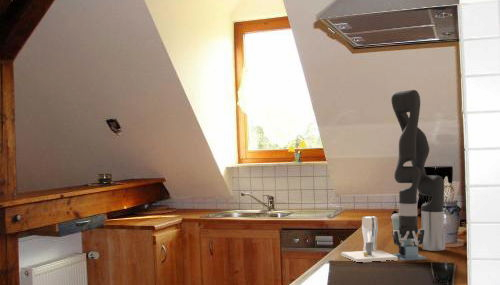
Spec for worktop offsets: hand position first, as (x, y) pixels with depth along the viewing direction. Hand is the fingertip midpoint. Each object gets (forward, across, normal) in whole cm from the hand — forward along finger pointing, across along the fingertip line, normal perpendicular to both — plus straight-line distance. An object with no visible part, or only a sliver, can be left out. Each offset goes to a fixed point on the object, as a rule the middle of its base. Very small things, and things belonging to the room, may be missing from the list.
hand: (408, 254), depth 237 cm
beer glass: (+2, +8, -20) cm, 22 cm away
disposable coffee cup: (+1, -13, -29) cm, 32 cm away
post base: (+1, +16, -4) cm, 17 cm away
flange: (+1, 0, 0) cm, 1 cm away
